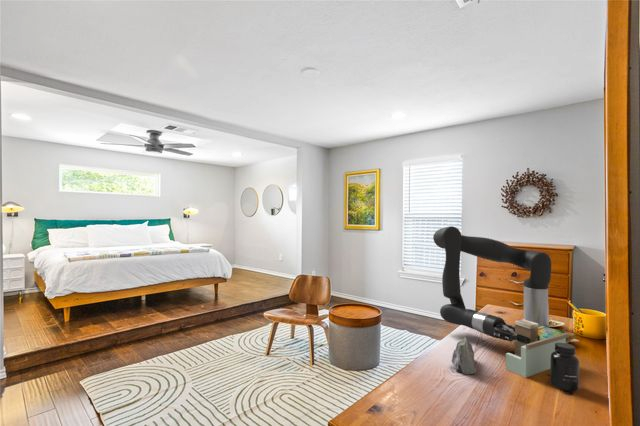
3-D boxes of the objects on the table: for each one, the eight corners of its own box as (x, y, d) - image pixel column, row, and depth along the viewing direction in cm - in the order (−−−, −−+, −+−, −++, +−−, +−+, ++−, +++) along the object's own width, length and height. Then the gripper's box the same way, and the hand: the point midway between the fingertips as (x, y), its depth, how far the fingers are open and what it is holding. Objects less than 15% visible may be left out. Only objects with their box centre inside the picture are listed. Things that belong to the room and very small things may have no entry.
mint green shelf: (540, 354, 121) (541, 325, 121) (568, 364, 113) (568, 333, 113) (501, 366, 111) (501, 335, 111) (528, 378, 103) (528, 345, 103)
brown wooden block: (522, 353, 118) (523, 319, 118) (537, 359, 113) (538, 323, 113) (514, 356, 116) (514, 321, 115) (529, 362, 111) (529, 325, 111)
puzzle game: (514, 332, 131) (542, 323, 140) (514, 344, 131) (542, 335, 140) (546, 342, 120) (575, 332, 130) (546, 355, 120) (574, 344, 130)
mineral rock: (463, 356, 119) (464, 327, 119) (493, 367, 110) (493, 337, 110) (440, 364, 112) (440, 334, 112) (469, 378, 103) (470, 345, 103)
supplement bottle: (571, 394, 94) (571, 351, 94) (545, 383, 100) (545, 343, 100) (584, 389, 97) (584, 347, 97) (558, 378, 103) (558, 339, 103)
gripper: (475, 317, 124) (521, 332, 109) (500, 312, 130) (547, 325, 115) (475, 337, 124) (521, 355, 109) (500, 331, 130) (547, 347, 115)
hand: (534, 340), depth 112 cm, fingers closed on brown wooden block, 4 cm apart
